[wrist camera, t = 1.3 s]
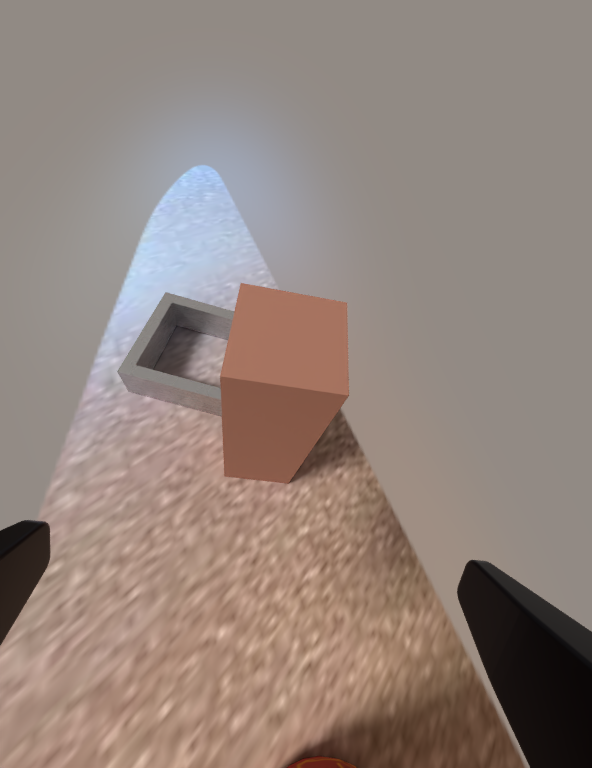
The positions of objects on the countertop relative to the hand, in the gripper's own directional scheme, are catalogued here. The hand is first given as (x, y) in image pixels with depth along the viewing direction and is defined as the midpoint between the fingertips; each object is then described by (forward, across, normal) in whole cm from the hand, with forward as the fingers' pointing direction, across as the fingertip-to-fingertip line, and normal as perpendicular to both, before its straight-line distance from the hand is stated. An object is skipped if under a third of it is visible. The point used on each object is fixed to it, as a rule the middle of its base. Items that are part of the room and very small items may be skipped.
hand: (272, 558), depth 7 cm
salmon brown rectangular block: (+14, 0, +4) cm, 14 cm away
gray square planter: (+18, +5, 0) cm, 19 cm away
